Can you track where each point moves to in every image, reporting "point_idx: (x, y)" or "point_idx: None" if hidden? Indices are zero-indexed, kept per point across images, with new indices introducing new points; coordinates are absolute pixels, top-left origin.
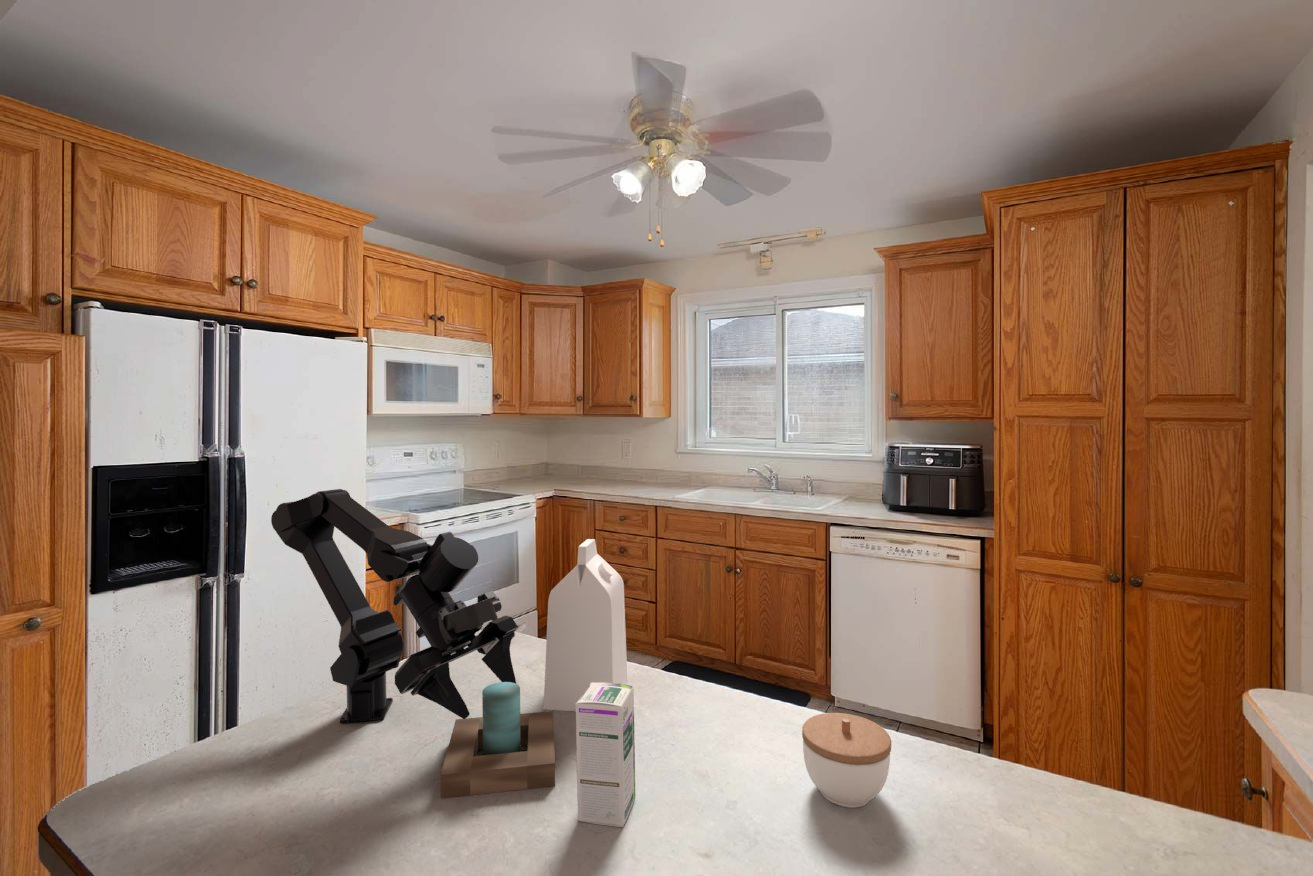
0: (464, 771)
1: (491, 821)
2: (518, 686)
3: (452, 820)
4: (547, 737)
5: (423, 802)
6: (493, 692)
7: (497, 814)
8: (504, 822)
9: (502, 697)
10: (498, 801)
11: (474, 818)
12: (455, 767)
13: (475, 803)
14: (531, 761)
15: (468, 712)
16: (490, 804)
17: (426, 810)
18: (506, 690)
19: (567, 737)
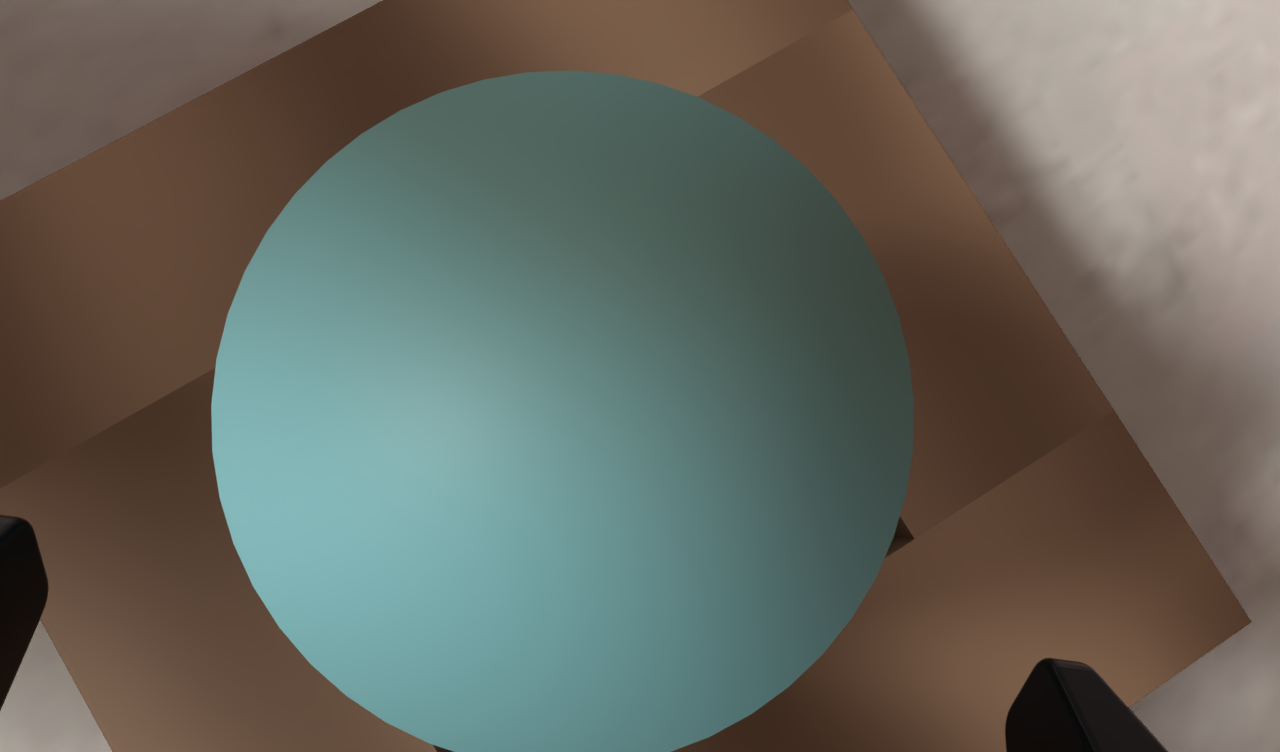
0: (1134, 454)
1: (1178, 129)
2: (327, 185)
3: (1276, 369)
4: (381, 66)
5: (1220, 693)
6: (720, 476)
7: (1108, 132)
8: (1151, 48)
9: (817, 212)
10: (997, 202)
11: (1201, 247)
12: (1117, 572)
13: (1078, 336)
14: (781, 9)
15: (1072, 671)
16: (1045, 234)
17: (1275, 607)
18: (561, 295)
19: (49, 146)
